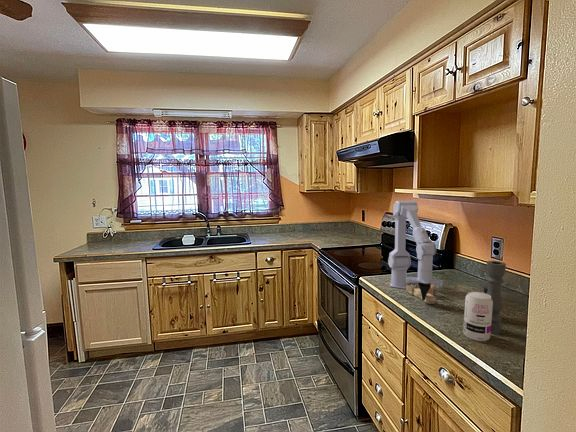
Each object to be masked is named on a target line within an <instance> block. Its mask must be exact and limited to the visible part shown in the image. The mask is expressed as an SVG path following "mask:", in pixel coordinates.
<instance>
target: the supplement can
mask: <svg viewBox="0 0 576 432" xmlns="http://www.w3.org/2000/svg"><path fill="white" fill-rule="evenodd" d="M492 308H493V300H492V298H491V296H490V295H488V294H486V293H484V292H481V291H468V292H467V294H466V296H465V300H464V313H463V314H464V315H463V328H462V329H463V331H462V333H463V334H464V335H465V337H467V338H468V339H470V340H473V341H477V342H486V341H489V340H490V339H491V335H492V333H491V321H492Z"/></svg>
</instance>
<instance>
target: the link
mask: <svg viewBox="0 0 576 432" xmlns="http://www.w3.org/2000/svg"><path fill="white" fill-rule="evenodd" d="M405 292H406V293H408V294H410V295H411V296H413V295H414V296H415V297H416V298H419V299H420V300H421V301H424V303H426V304H428V305H433V304H436V296H435V295H434V294H433V295H431V294H429V293H427V295H426V297H425V300H422V294H421V290H420V288H419V285H417V284H416V285H415V288H412V287H411V284H408V285H406V289H405Z"/></svg>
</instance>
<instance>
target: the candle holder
mask: <svg viewBox="0 0 576 432" xmlns="http://www.w3.org/2000/svg"><path fill="white" fill-rule="evenodd" d="M506 267H507V263H505V262H502V261H496V260H488V261H486V270H485V271H486V273H487V275H488V277H487V278H486V281H487V286H488V291H487V294H488V295H490V296H491V298H492V300H493V308H492V321H491V334H493V335H499V334H502V332H503V331H502V329H503V322H502V317H501V316H500V314H501V312H502V311H503V309H504V303H503V298H502V293H501V291H502V284H504V282H505V280H503V277H504V276H505V274H506Z"/></svg>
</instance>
